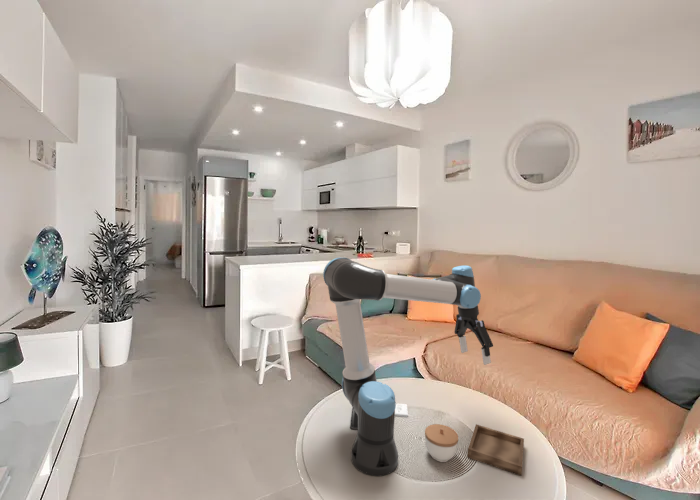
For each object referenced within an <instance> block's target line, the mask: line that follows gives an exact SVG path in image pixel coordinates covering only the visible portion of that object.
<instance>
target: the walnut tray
mask: <svg viewBox="0 0 700 500" xmlns="http://www.w3.org/2000/svg"><path fill="white" fill-rule="evenodd" d="M524 443H525V438H523V437H521V436H516V435H513V434H510V433H506V432H503V431H501V430H497V429H492V428H490V427H487V426H483V425H480V424H477V423H476V424H475V426H474V430H473V432H472V436H471V439H470V441H469V444H468V448H467V458H469V459H472V460H473V461H474V460H475V461H477V462H480V463H482V464H486V465H488V466H492V467H495V468H497V469H499V470H503V471H505V472H508V473H511V474H514V475H517V476H520V477H522V473H523V460H524V458H523V457H524V447H525V445H524Z"/></svg>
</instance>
